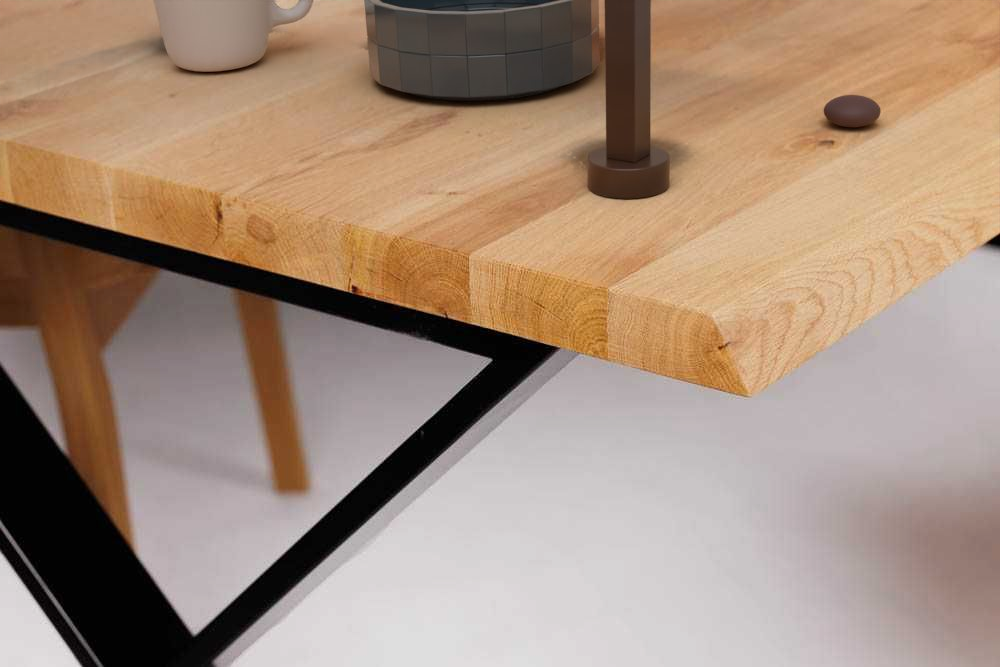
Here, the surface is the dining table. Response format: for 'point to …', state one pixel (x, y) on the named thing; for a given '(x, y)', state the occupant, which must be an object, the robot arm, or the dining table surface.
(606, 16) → the stir stick
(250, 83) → the dining table surface
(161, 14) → the cup
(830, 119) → the chocolate truffle
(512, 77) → the bowl
